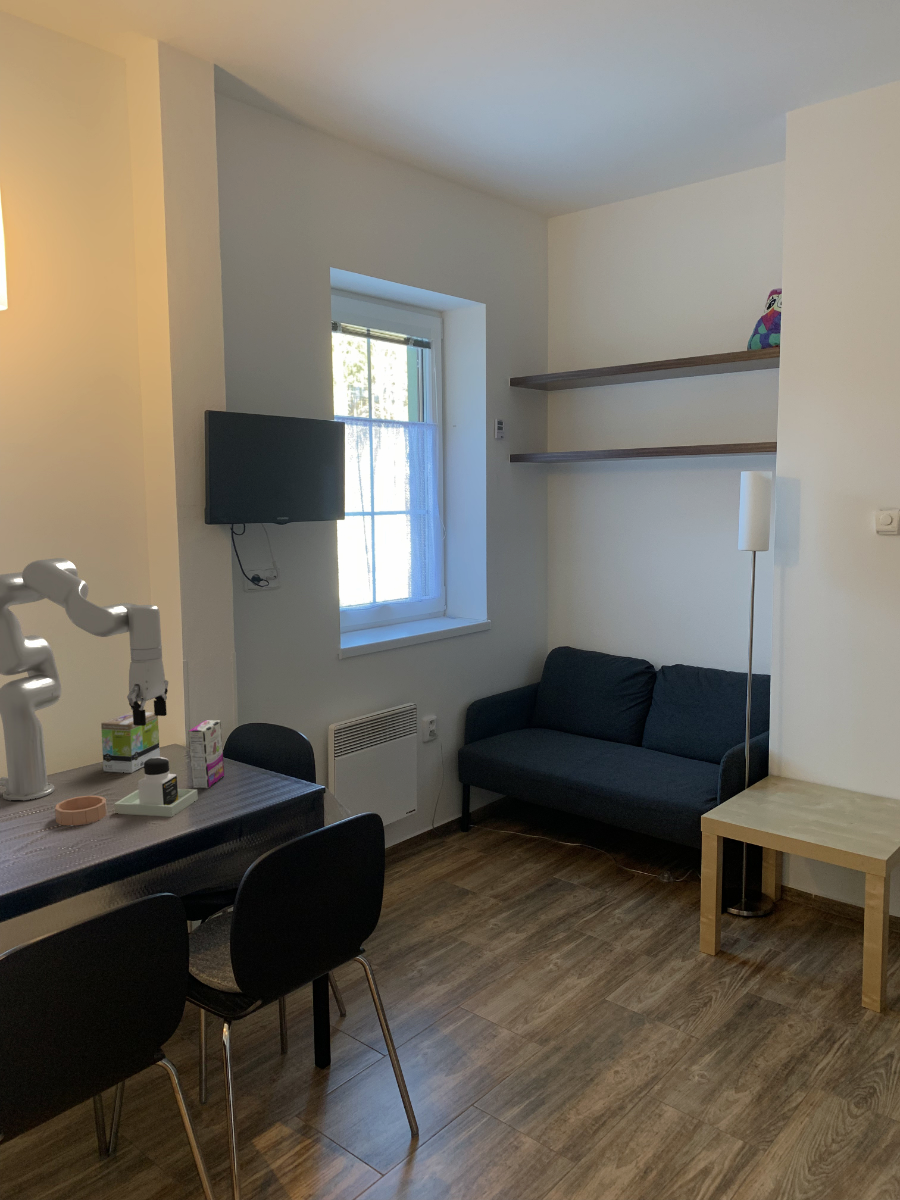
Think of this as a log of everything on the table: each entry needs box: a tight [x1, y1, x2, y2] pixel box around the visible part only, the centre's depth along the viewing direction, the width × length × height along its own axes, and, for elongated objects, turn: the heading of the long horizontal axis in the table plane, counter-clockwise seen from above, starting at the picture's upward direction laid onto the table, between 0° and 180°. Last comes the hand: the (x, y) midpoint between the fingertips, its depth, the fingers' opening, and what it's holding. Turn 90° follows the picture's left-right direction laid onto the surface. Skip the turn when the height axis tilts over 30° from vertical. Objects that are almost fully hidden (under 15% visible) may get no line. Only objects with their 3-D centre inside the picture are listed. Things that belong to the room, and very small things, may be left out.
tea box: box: [100, 711, 161, 774], centre depth 269 cm, size 15×10×15 cm, turn 167°
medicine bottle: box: [137, 756, 179, 805], centre depth 232 cm, size 7×7×12 cm
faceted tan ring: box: [54, 795, 108, 826], centre depth 227 cm, size 12×12×4 cm
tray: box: [113, 788, 199, 818], centre depth 233 cm, size 16×13×3 cm
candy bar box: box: [187, 719, 226, 789], centre depth 251 cm, size 11×5×16 cm, turn 171°
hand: (150, 720), depth 231 cm, fingers open, 9 cm apart
